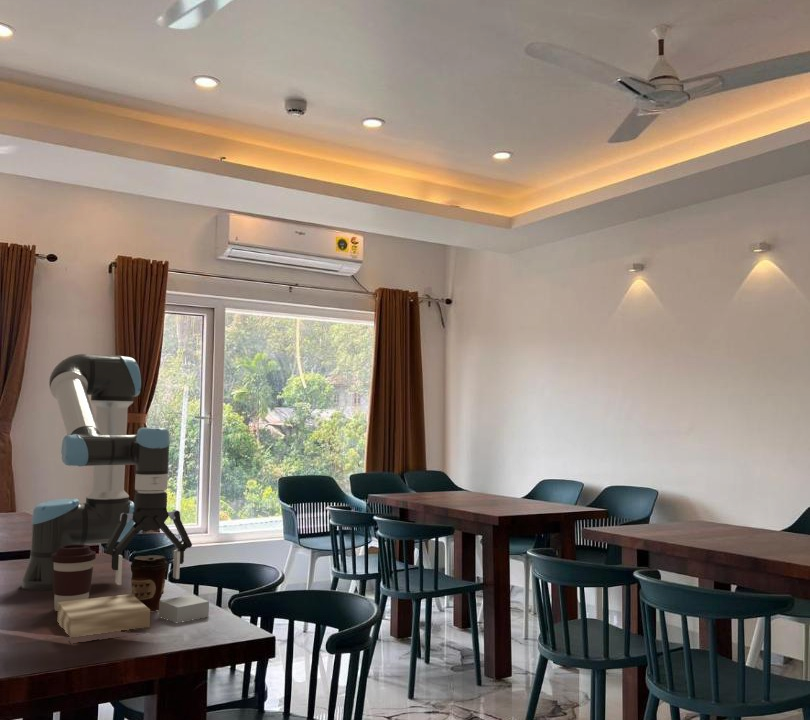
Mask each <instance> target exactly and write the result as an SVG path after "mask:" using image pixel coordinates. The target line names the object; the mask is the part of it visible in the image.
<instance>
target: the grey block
mask: <svg viewBox="0 0 810 720" xmlns="http://www.w3.org/2000/svg"><path fill="white" fill-rule="evenodd" d="M209 607H210V601H208V600H206V599H203V598H202V597H201V598H200V597H197V596H195V595H192V594H189V595H183V596H182V595H181V596H177V597H171V598H167V599H162V600H161V599H160V601H159V610H158V618H159V617H162V618H165V619H168V620H171V621H174V622H182V621H187V622H189V621H188V620H192V619H197V620H200V618H202V619H206V618H205V617H207V618H209V613H210V608H209ZM162 618H161V619H162ZM165 619H164V620H165ZM168 620H167V621H168ZM171 621H170V622H171ZM192 621H193V620H192ZM174 622H173V623H174ZM182 623H183V622H182Z"/></svg>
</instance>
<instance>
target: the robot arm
mask: <svg viewBox="0 0 810 720" xmlns="http://www.w3.org/2000/svg"><path fill="white" fill-rule="evenodd" d="M48 383H49V390H50V393H51V395H52V396H53V398H54V399H55V400H57V403H58V407H59V410H60V414H61V418H62V423H63V425H64V428H65V432H66V435H65V436H64V437H63V439H62V443H61V448H60V449H61V450H60V451H61V452H60V453H61V460H62V463H63V464H64V465H65V466H69V467H70V466H73V467H74V466H75V467H91V466H92V468H93V469H92V485H91V486H92V489H91V491H90V492H89V493H88V494H86V496H85V497H86V498H85V503H84V502H83V503H82V502H81V503H80V500H79V499H78V498H75V497H73V498H71V497H70V498H58V499H53V500H49V501H45V502H41V503H39V504H37V505H36V506H35V507H33V511H32V518H31V521H30V523H31V538H30V539H31V540H30V554H29V555H30V556H29V561H28V563H27V566H26V568H25V571H24V574H23V576H22V578H21V589H23V590H26V589H27V590H26V591H53V569H54V562H52V561H51V554H52V553H55V552H57V550H58V548H59V547H60V546H64V545H71V544H84V545H97V544H106V545H105V547H104V549H103V552H104V553H105V554H107V555H109V556H111V570H113V571H115V581H114V582H115V584H116V585H117V586H122V579H123V578H122V576H123V555H121V553H123V551H124V550H125V548H127V547H128V545H129V544H130V542H132V540H133V539H134V538H135V537H136V536H137V535H138V534H139V533H140V532H141V531H142V532H149V531H153V532H154V531H155V532H156V531H159V530H160V531H161V532H163V534H164V535H165V536H166V537H167V539H168V540H169V541H170V542H171V543H172V544H173V545H174V547H176V549H174V550H173V567H172V578H173V579H175V580H179V579H180V571H181V570H180V569H181V568H180V566H181V565H182V564H183V565H184V561H185V560H184V559H185V551H186V550H187V549H190V548H192V547H193V543H192V542H191V539H190V537H189V535H188V533H187V530H186V528H185V526H184V524H183V522H182V520H181V512H180V510H178V509H173V510H171V511H168V508H167V507H168V493H167V492H166V491H167V490H168V485H169V484H168V482H169V478H168V476H169V454H170V444H171V441H170V431H169V429H168V428H165V427H139V428H138V430H137V433H134V434H127V428H128V427H127V426H128V409H129V407H130V406H131V405H133V403H134V397H135V398H136V397H138V396H139V395H140V393H141V389H142V378H141V371H140V366H139V364H138V362H137V361H136V359H134V358H133V357H131V356H123V355H107V354H106V355H105V354H104V355H103V354H87V353H79V354H73V355H71V356H68V357H66V358H65V359H63V360H61V361H60V362H59V363H58V364H57V365H56V366H55V367H54V369H53V370H52V371H51V373H50V377H49V382H48ZM88 395H89V396H90V399H89V396H88ZM92 405H94V406H95V414H94V410H93V407H92ZM128 465H129V466H133V465H135V478H134V479H135V480H134V490H135V491H136V492H135V494H134V498H133V499H134V501H132V500H130V495H129V494H128V493H127V492H126V491H125V472H126V471H125V470H126V466H128ZM168 518H170V520H172V522H173V524H174V526H175V529H176V530H177V532H178V535H179V537H180V538H181V541H182V543H181V541H180V540H179V539H178V537H177V536H176V535H175V534H174V533H173V532H172V530H171V529H170V528H169V526H167V524H166V523H165V522H166V521H167V519H168ZM117 543H118V544H117Z"/></svg>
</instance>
